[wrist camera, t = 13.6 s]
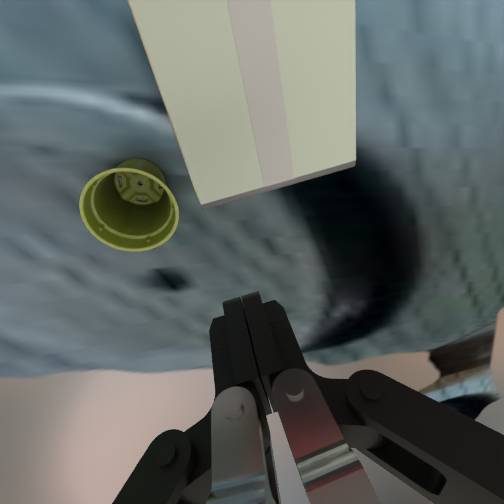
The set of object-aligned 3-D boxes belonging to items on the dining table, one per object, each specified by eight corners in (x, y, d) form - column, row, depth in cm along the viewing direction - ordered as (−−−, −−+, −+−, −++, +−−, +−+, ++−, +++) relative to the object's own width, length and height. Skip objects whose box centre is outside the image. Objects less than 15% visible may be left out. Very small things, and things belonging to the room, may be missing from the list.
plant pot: (180, 216, 41) (180, 250, 34) (106, 216, 38) (89, 253, 31) (177, 146, 35) (176, 169, 28) (92, 142, 33) (68, 166, 26)
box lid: (202, 206, 29) (203, 212, 28) (124, -17, 20) (121, -21, 19) (350, 164, 30) (356, 168, 29) (346, -74, 20) (355, -81, 19)
